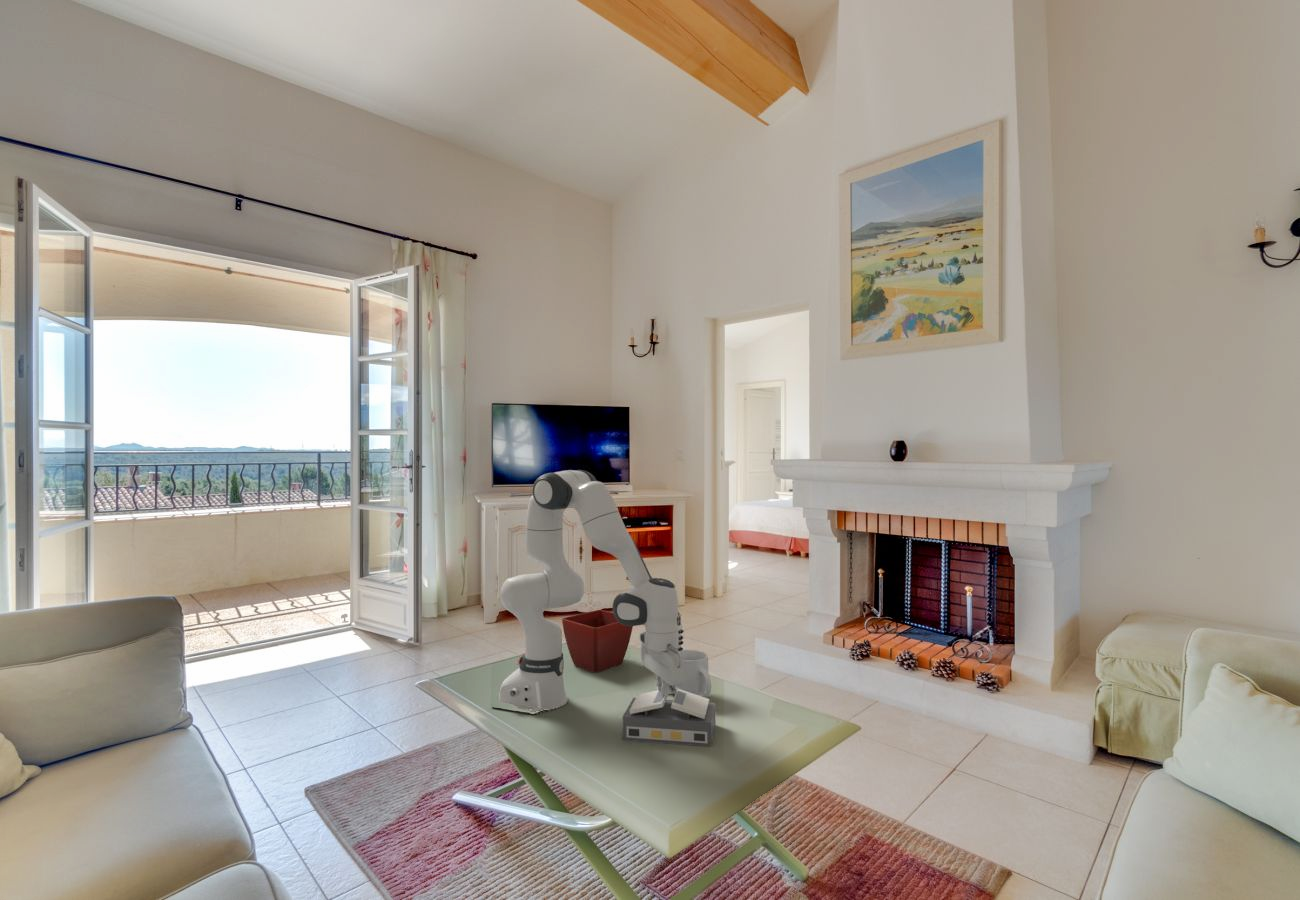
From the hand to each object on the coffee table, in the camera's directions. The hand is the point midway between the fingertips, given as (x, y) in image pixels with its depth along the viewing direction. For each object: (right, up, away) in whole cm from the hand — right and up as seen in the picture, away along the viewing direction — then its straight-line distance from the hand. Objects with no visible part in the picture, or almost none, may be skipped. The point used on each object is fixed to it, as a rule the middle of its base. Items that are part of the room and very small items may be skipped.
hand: (662, 692), depth 160 cm
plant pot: (-22, -13, +55) cm, 61 cm away
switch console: (+2, -10, -1) cm, 11 cm away
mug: (+10, -11, +22) cm, 27 cm away
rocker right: (+7, -2, -1) cm, 8 cm away
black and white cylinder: (+3, -12, +31) cm, 33 cm away
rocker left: (-4, -3, +1) cm, 4 cm away
